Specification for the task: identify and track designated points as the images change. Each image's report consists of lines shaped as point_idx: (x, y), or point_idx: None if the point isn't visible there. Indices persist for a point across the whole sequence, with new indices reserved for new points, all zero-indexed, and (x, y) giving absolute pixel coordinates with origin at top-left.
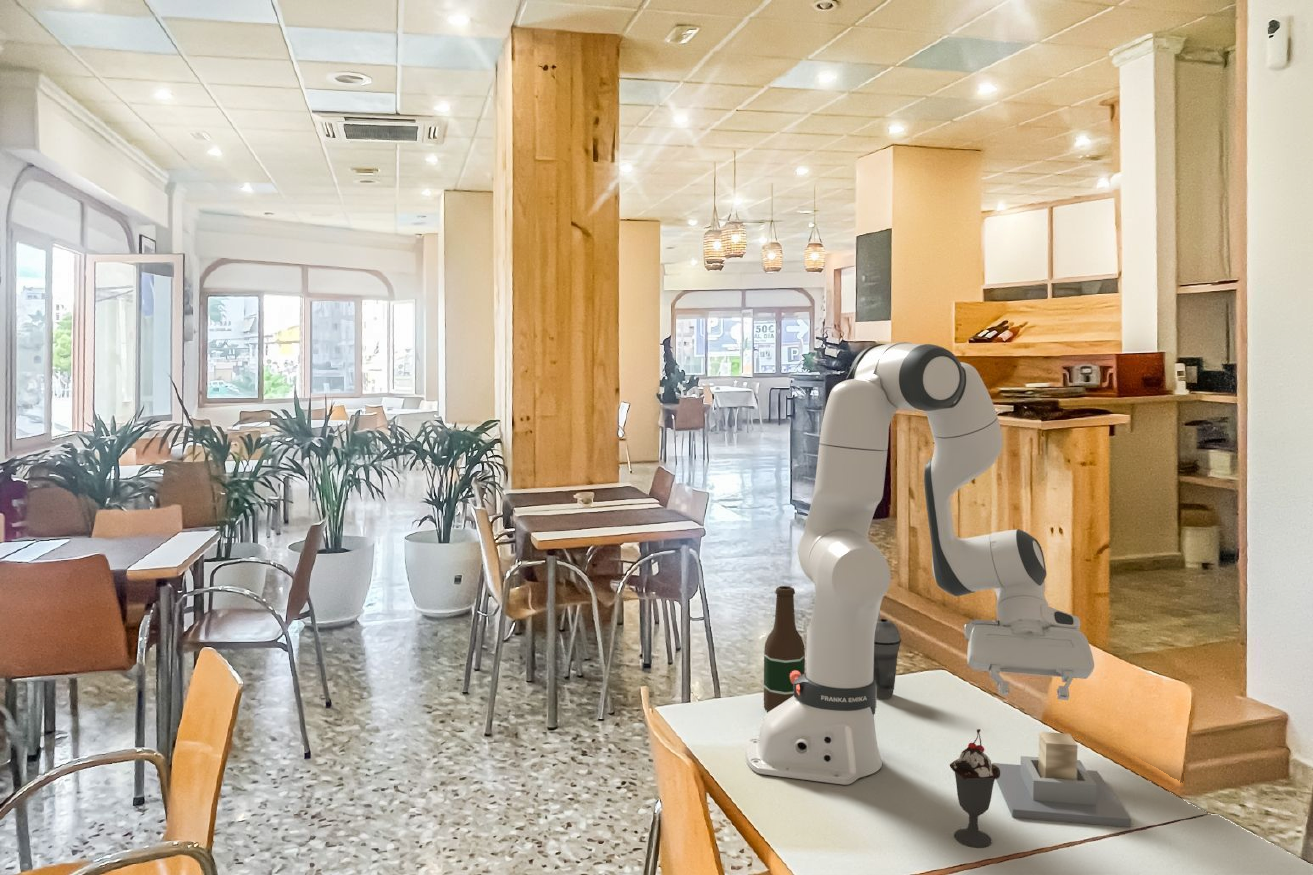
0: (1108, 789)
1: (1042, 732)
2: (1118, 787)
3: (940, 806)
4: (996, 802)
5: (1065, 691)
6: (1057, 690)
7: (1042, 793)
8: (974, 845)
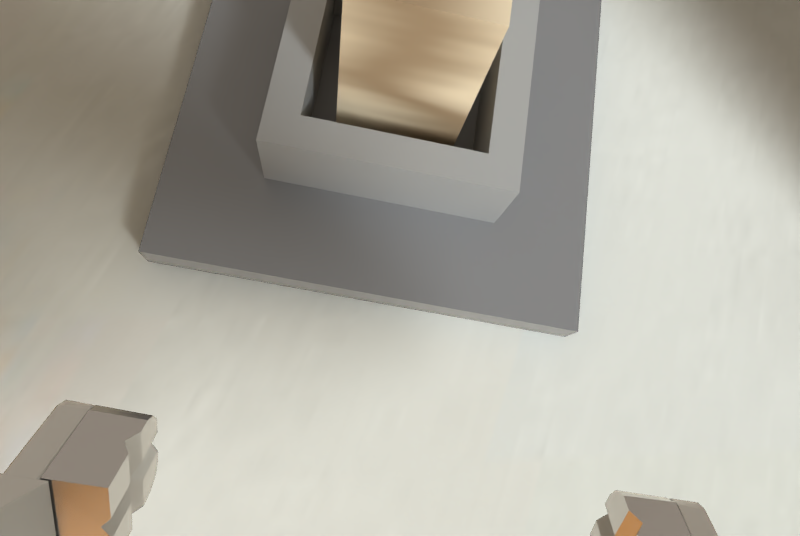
0: (192, 88)
1: (495, 16)
2: (103, 179)
3: (789, 73)
4: (614, 88)
5: (76, 432)
6: (120, 530)
7: None
8: None
